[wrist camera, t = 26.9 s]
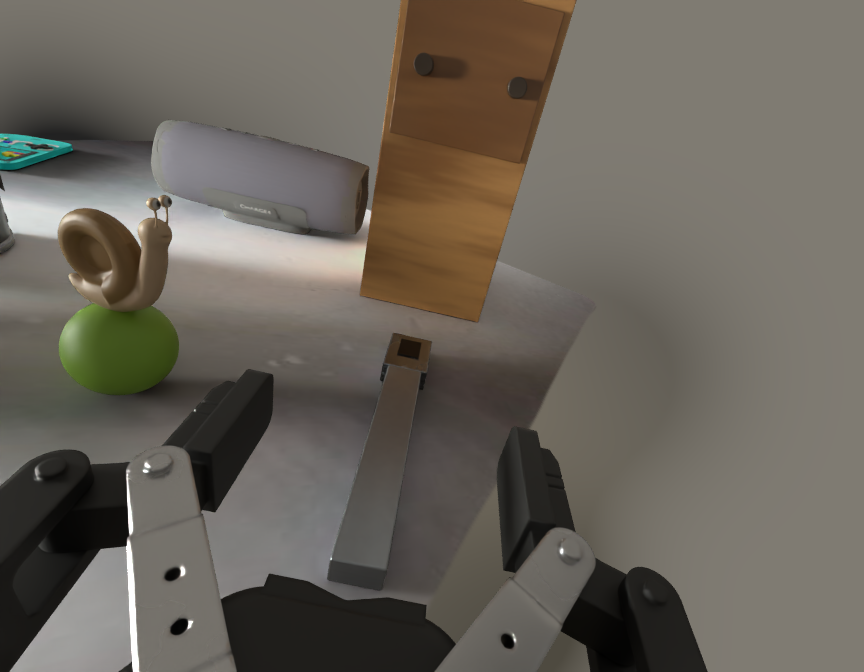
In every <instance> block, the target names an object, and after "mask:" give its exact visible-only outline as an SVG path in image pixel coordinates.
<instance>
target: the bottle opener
mask: <svg viewBox="0 0 864 672" xmlns="http://www.w3.org/2000/svg"><path fill="white" fill-rule="evenodd" d="M431 344H432V341H428V340H424V339H419V338H415V337H410V336H406V335H402V334H397V333H393V334H392V337H391V340H390V343H389V346H388V349H387V353H386V356H385V359H384V362H383V366H382V371H381V377H380V380H381V381H383V385H382V388H381V391H380V395H379V398H378V401H377V405H376V408H375V411H374V415H373V418H372V421H371V424H370V428H369V431H368V434H367V438H366V441H365V444H364V448H363V451H362V454H361V458H360V461H359V464H358V468H357V471H356V474H355V478H354V481H353V484H352V488H351V491H350V494H349V497H348V501H347V504H346V507H345V511H344V514H343V517H342V521H341V524H340V527H339V531H338V534H337V537H336V541H335V544H334V547H333V551H332V554H331V557H330V563H329V569H328V575H327V579H328V580H329V581H334V582H339V583H344V584H349V585H354V586H359V587H364V588H369V589H374V590H379V591H380V590H382V587H383V584H384V580H385V576H386V573H387V569H388V563H389V557H390V551H391V546H392V540H393V534H394V528H395V523H396V517H397V511H398V505H399V499H400V494H401V488H402V482H403V476H404V471H405V465H406V459H407V453H408V447H409V442H410V436H411V430H412V424H413V419H414V413H415V407H416V401H417V395H418V390H419V389H421V390H423V387H424V383H425V379H426V375H427V370H428V364H429V357H430V351H431Z"/></svg>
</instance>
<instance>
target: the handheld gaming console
mask: <svg viewBox="0 0 864 672" xmlns="http://www.w3.org/2000/svg"><path fill="white" fill-rule="evenodd" d="M70 151H73V150H72V145H71V144H69V143H65V142H59V141H53V140H47V139H41V138H35V137H29V136H23V135H14V134H0V169H3V170H15V169H19V168H22V167H25V166H28V165H31V164H34V163H37V162H40V161H43V160H46V159H49V158H52V157H55V156H58V155H61V154H64V153H67V152H70Z"/></svg>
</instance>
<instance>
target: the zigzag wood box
mask: <svg viewBox="0 0 864 672" xmlns="http://www.w3.org/2000/svg"><path fill="white" fill-rule="evenodd" d="M575 4H576V0H401V3H400V11H399V18H398V25H397V32H396V39H395V47H394V53H393V61H392V68H391V75H390V82H389V89H388V97H387V104H386V111H385V119H384V126H383V132H382V139H381V147H380V154H379V162H378V168H377V175H376V182H375V190H374V197H373V204H372V211H371V218H370V225H369V233H368V240H367V247H366V254H365V261H364V268H363V276H362V283H361V290H360V295H361V296H365V297H370V298H374V299H378V300H383V301H387V302H392V303H396V304H400V305H405V306H409V307H414V308H418V309H422V310H427V311H431V312H436V313H440V314H444V315H449V316H453V317H458V318H462V319H466V320H471V321H475V322H478V321H479V317H480V314H481V311H482V308H483V304H484V301H485V298H486V295H487V291H488V288H489V285H490V281H491V278H492V275H493V272H494V268H495V265H496V262H497V259H498V255H499V252H500V249H501V246H502V242H503V239H504V236H505V232H506V229H507V225H508V223H509V219H510V216H511V213H512V210H513V206H514V202H515V199H516V196H517V193H518V190H519V187H520V183H521V180H522V177H523V174H524V170H525V167H526V164H527V161H528V157H529V154H530V151H531V147H532V144H533V140H534V137H535V134H536V131H537V128H538V124H539V121H540V118H541V115H542V112H543V108H544V105H545V102H546V98H547V95H548V92H549V88H550V85H551V82H552V79H553V76H554V72H555V69H556V66H557V63H558V59H559V56H560V53H561V49H562V46H563V42H564V39H565V36H566V33H567V30H568V27H569V23H570V20H571V17H572V13H573V10H574V7H575Z"/></svg>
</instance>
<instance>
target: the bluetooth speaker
mask: <svg viewBox="0 0 864 672" xmlns="http://www.w3.org/2000/svg"><path fill="white" fill-rule="evenodd" d="M151 167H152V172H153V175H154V178H155V180H156V182H157V183H158V185H159V186H160V187H161V188H162V189H163V190H164V191H166V192H168V193H170V194H173V195H176V196H179V197H182V198H185V199H188V200H191V201H195V202H199V203H203V204H206V205H208V206H212V207H216V208H220V209H222V210H223V213H224V215H225V217H227V218H230V219H233V220H237V221H241V222H245V223H249V224H254V225H258V226H263V227H267V228H272V229H276V230H281V231H286V232H292V233H298V234H306V233H308V232H309V231H310V230H311V229H315V230H324V231H330V232H336V233H343V234H357V232H358V231H359V230H360V228H361V226H362V223H363V220H364V216H365V211H366V206H367V200H368V176H369V175H368V174H369V167H368V166H366V165H364V164H362V163H359V162H356V161H353V160H350V159H348V158H344V157H340V156H337V155H333V154H330V153H326V152H323V151H319V150H317V149H312V148H308V147H304V146H300V145H297V144H293V143H289V142H284V141H280V140H278V139H275V138H271V137H266V136H259V135H254V134H250V133H247V132H246V133H245V132H240V131H235V130H231V129H227V128H220V127H215V126H210V125H204V124H199V123H193V122H185V121H176V120H167V121H165V122H163V123H161V124H160V125H159V127H158V129H157V131H156V135H155V139H154V142H153V148H152V157H151Z"/></svg>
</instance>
